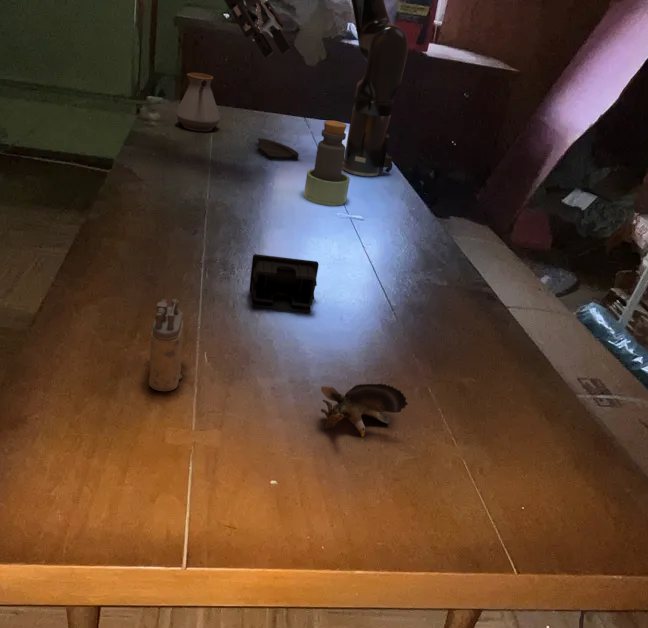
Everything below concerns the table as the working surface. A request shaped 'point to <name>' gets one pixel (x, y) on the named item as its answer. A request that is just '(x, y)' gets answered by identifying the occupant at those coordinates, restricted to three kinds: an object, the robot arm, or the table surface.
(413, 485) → the table surface
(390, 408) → the dark toy animal
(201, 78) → the coffee pot
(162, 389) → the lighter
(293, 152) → the dark sector wedge
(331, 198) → the holder
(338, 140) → the bottle
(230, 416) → the table surface
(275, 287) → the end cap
